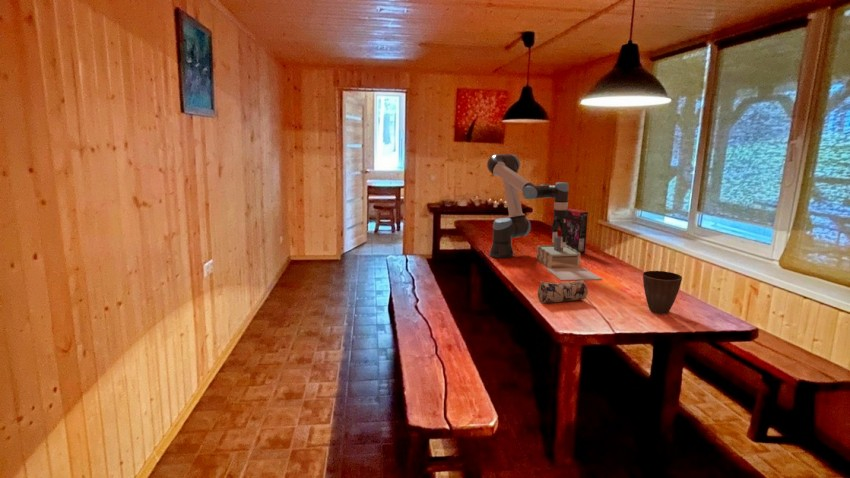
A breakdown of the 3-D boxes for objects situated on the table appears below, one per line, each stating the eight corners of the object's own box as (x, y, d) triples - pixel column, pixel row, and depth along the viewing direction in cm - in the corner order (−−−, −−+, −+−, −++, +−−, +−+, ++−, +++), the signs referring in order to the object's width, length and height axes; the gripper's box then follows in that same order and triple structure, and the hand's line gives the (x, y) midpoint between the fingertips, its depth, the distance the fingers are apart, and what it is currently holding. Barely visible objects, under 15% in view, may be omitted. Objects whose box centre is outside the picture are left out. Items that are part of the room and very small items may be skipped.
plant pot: (640, 314, 201) (644, 278, 198) (638, 303, 214) (641, 269, 211) (680, 319, 196) (684, 281, 192) (675, 307, 209) (679, 272, 206)
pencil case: (544, 305, 212) (545, 284, 210) (535, 299, 220) (536, 279, 218) (588, 302, 216) (590, 281, 215) (579, 296, 225) (580, 276, 223)
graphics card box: (559, 249, 322) (562, 208, 317) (567, 248, 325) (570, 208, 319) (577, 254, 307) (580, 212, 301) (586, 253, 310) (588, 211, 304)
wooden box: (536, 259, 294) (537, 245, 292) (565, 258, 295) (565, 244, 293) (549, 268, 272) (549, 253, 270) (579, 268, 274) (580, 253, 272)
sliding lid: (539, 248, 291) (540, 234, 289) (564, 248, 292) (565, 233, 291) (551, 256, 272) (551, 240, 270) (578, 256, 273) (579, 240, 271)
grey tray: (560, 280, 249) (561, 279, 249) (546, 269, 270) (546, 268, 270) (601, 279, 251) (601, 278, 251) (584, 268, 273) (584, 267, 272)
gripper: (575, 212, 265) (573, 249, 269) (559, 206, 289) (557, 240, 294) (562, 212, 264) (560, 249, 269) (547, 206, 289) (545, 240, 293)
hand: (558, 245), depth 281 cm, fingers open, 13 cm apart
